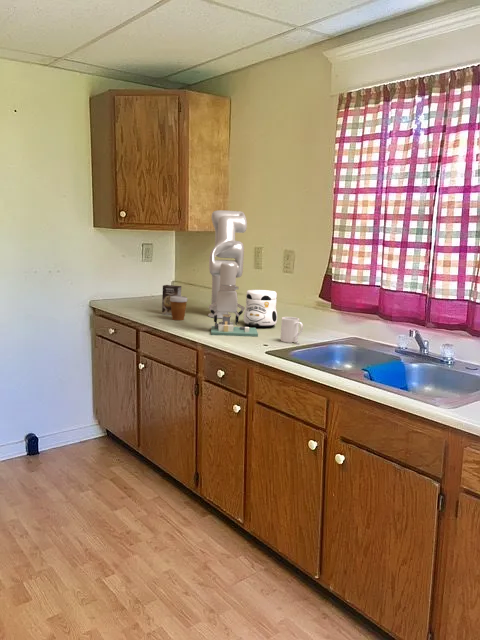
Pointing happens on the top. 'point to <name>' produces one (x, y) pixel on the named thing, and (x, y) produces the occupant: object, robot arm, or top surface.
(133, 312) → the top surface
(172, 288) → the coffee box
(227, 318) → the plug
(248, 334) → the board
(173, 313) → the disposable coffee cup
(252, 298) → the milk container
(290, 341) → the mug
